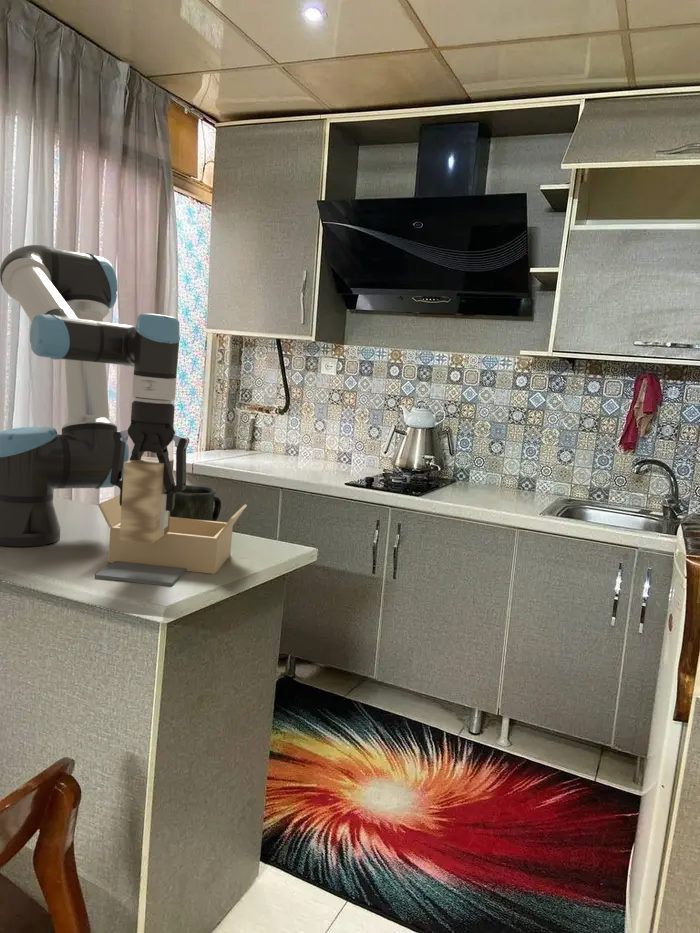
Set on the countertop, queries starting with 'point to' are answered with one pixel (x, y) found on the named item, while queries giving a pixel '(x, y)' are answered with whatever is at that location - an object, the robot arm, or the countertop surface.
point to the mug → (196, 503)
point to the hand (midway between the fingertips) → (145, 525)
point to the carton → (173, 542)
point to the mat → (141, 573)
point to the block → (142, 500)
